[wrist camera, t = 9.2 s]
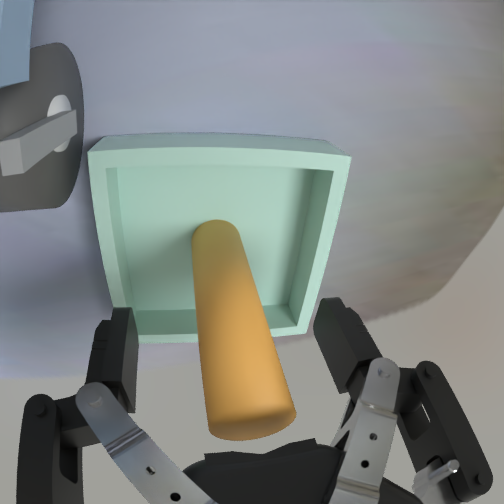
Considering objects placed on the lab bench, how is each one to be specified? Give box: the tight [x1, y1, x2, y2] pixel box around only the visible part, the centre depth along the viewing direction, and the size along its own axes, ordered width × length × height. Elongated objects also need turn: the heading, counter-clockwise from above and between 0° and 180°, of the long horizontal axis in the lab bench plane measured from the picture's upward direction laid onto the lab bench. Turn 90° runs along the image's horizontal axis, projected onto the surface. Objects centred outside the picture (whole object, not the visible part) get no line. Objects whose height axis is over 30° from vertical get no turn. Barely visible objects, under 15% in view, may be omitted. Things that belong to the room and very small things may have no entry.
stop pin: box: [191, 219, 296, 441], centre depth 13 cm, size 3×3×11 cm
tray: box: [87, 133, 351, 343], centre depth 17 cm, size 12×12×3 cm
